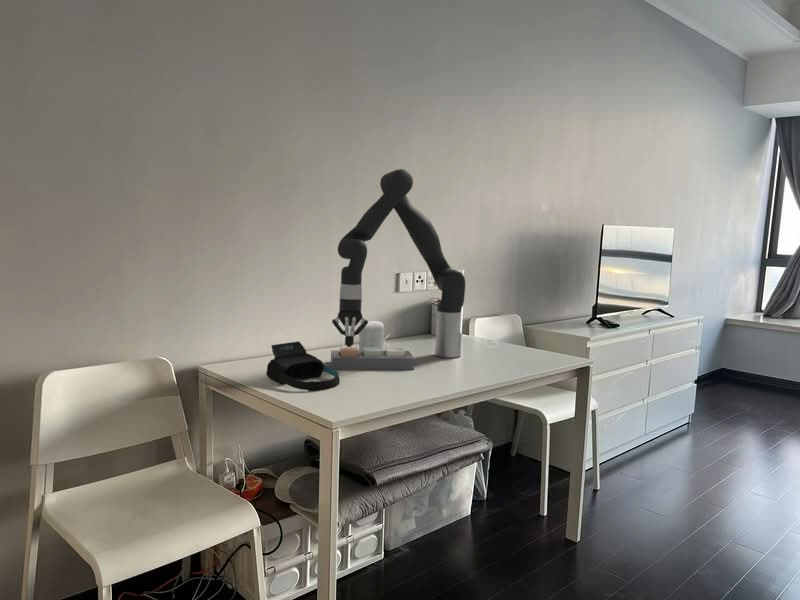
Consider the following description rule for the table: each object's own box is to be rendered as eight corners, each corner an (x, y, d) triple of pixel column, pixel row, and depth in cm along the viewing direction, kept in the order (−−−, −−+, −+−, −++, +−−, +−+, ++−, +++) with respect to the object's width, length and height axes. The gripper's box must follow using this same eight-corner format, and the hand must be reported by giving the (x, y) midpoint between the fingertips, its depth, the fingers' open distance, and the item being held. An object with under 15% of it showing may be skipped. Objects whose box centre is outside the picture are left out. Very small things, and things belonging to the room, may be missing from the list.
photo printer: (377, 350, 246) (378, 319, 245) (384, 352, 243) (385, 320, 242) (357, 353, 239) (358, 321, 238) (364, 355, 236) (365, 323, 235)
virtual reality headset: (303, 368, 209) (307, 339, 207) (349, 391, 195) (354, 361, 193) (257, 376, 194) (261, 346, 192) (304, 402, 181) (309, 370, 179)
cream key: (401, 355, 225) (401, 347, 224) (404, 359, 219) (404, 351, 218) (385, 355, 224) (385, 347, 223) (387, 359, 218) (387, 351, 217)
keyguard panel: (408, 361, 228) (408, 350, 228) (413, 369, 217) (414, 358, 216) (330, 361, 224) (331, 350, 223) (332, 369, 212) (332, 357, 212)
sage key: (379, 355, 223) (379, 347, 223) (381, 358, 217) (381, 351, 217) (362, 355, 222) (362, 347, 222) (364, 358, 216) (364, 350, 216)
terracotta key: (356, 355, 222) (357, 347, 222) (358, 358, 216) (358, 350, 216) (339, 355, 221) (340, 347, 221) (340, 358, 215) (341, 350, 215)
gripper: (368, 296, 221) (367, 344, 223) (331, 295, 219) (329, 344, 221) (371, 298, 213) (369, 349, 216) (331, 297, 211) (330, 348, 214)
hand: (349, 346), depth 218 cm, fingers closed
